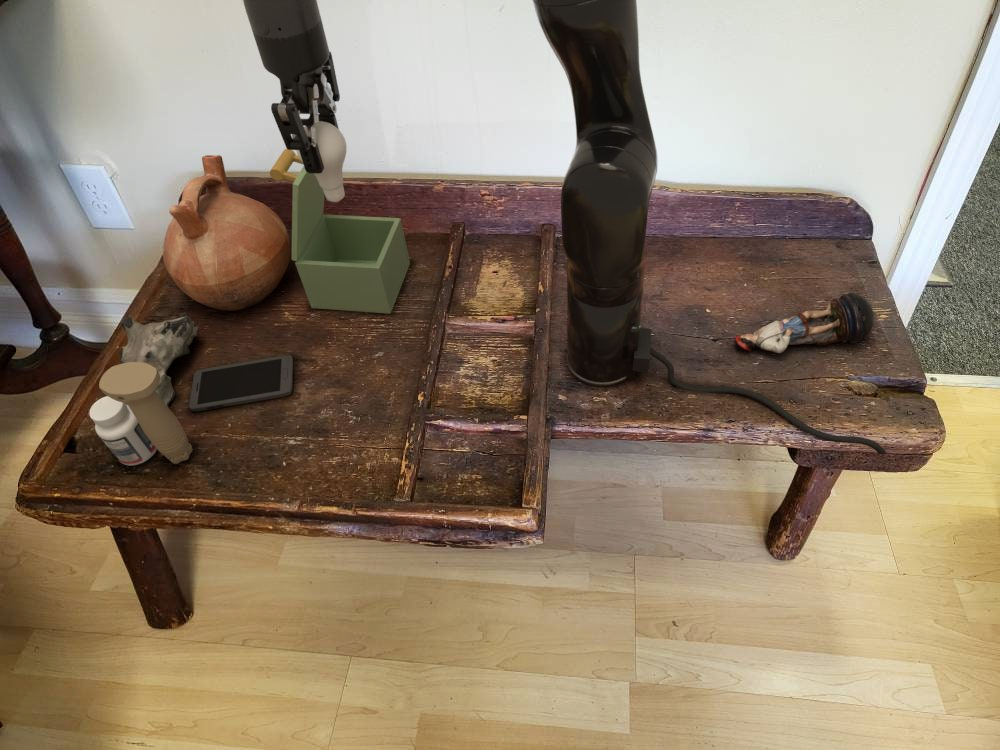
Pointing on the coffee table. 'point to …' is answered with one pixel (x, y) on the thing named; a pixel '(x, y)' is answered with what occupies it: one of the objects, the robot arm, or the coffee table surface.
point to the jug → (224, 243)
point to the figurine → (815, 326)
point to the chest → (354, 263)
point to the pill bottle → (121, 431)
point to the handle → (147, 407)
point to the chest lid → (300, 200)
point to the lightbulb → (330, 160)
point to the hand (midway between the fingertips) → (324, 156)
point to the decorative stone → (158, 346)
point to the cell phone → (242, 383)
